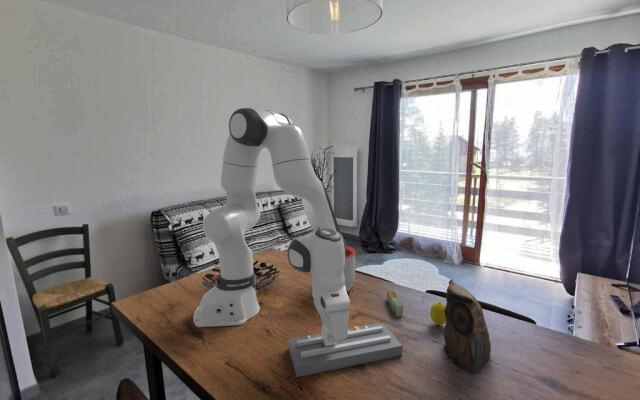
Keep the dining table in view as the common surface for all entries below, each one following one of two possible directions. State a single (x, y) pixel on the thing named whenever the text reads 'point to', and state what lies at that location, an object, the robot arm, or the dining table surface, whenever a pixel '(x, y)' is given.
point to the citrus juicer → (349, 268)
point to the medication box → (394, 303)
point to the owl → (465, 330)
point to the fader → (326, 337)
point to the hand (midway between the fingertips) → (328, 335)
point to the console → (343, 349)
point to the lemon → (438, 313)
